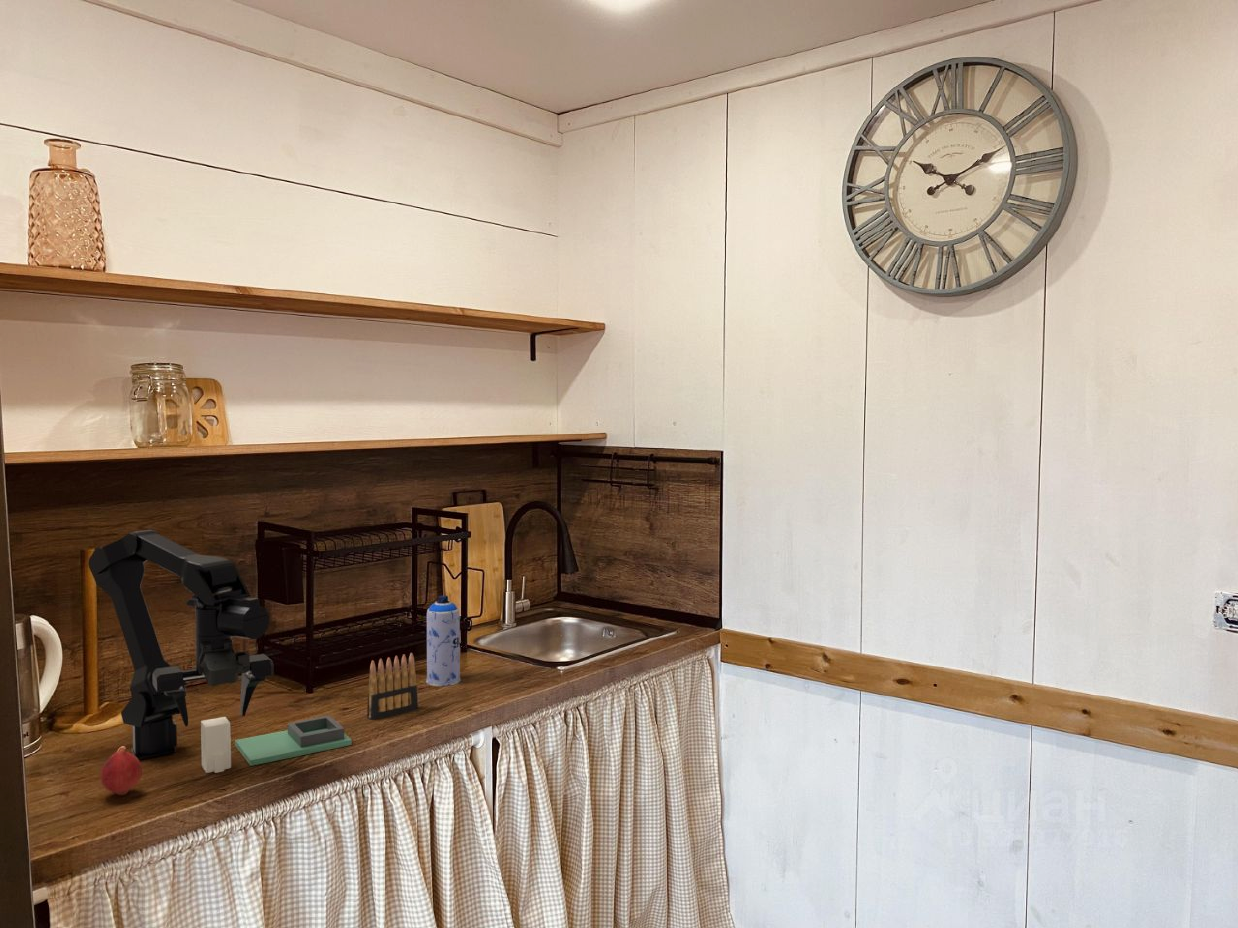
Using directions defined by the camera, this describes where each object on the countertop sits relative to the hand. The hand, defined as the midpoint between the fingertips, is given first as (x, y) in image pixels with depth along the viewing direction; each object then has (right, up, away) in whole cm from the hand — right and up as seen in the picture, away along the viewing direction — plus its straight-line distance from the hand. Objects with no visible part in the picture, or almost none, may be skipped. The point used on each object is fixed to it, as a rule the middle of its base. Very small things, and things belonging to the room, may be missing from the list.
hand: (215, 720), depth 157 cm
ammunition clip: (+24, -7, +29) cm, 38 cm away
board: (+10, -8, +11) cm, 17 cm away
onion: (-10, -9, -12) cm, 18 cm away
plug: (0, -8, 0) cm, 8 cm away
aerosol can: (+30, -6, +52) cm, 60 cm away
